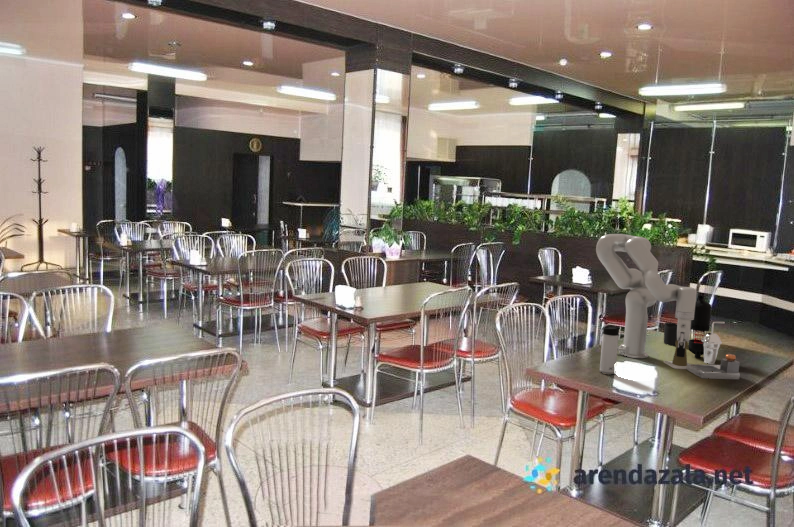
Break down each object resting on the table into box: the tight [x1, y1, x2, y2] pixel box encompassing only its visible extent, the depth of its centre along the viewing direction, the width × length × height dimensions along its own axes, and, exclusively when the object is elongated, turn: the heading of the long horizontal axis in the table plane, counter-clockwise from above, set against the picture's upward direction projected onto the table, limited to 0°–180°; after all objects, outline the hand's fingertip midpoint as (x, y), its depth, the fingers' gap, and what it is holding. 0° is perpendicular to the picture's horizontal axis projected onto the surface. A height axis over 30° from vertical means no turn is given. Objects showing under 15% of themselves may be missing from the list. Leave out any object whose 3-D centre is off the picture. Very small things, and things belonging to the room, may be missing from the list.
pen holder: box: [663, 322, 677, 347], centre depth 308 cm, size 9×9×10 cm
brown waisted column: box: [672, 340, 689, 366], centre depth 268 cm, size 6×6×11 cm
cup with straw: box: [700, 321, 726, 365], centre depth 273 cm, size 8×9×20 cm
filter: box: [687, 295, 712, 359], centre depth 283 cm, size 14×9×30 cm
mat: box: [663, 360, 690, 370], centre depth 268 cm, size 10×10×1 cm
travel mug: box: [599, 325, 621, 375], centre depth 251 cm, size 6×7×20 cm
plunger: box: [725, 353, 737, 361], centre depth 253 cm, size 4×4×6 cm
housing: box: [686, 358, 741, 380], centre depth 256 cm, size 16×12×7 cm
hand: (680, 354), depth 267 cm, fingers open, 6 cm apart
